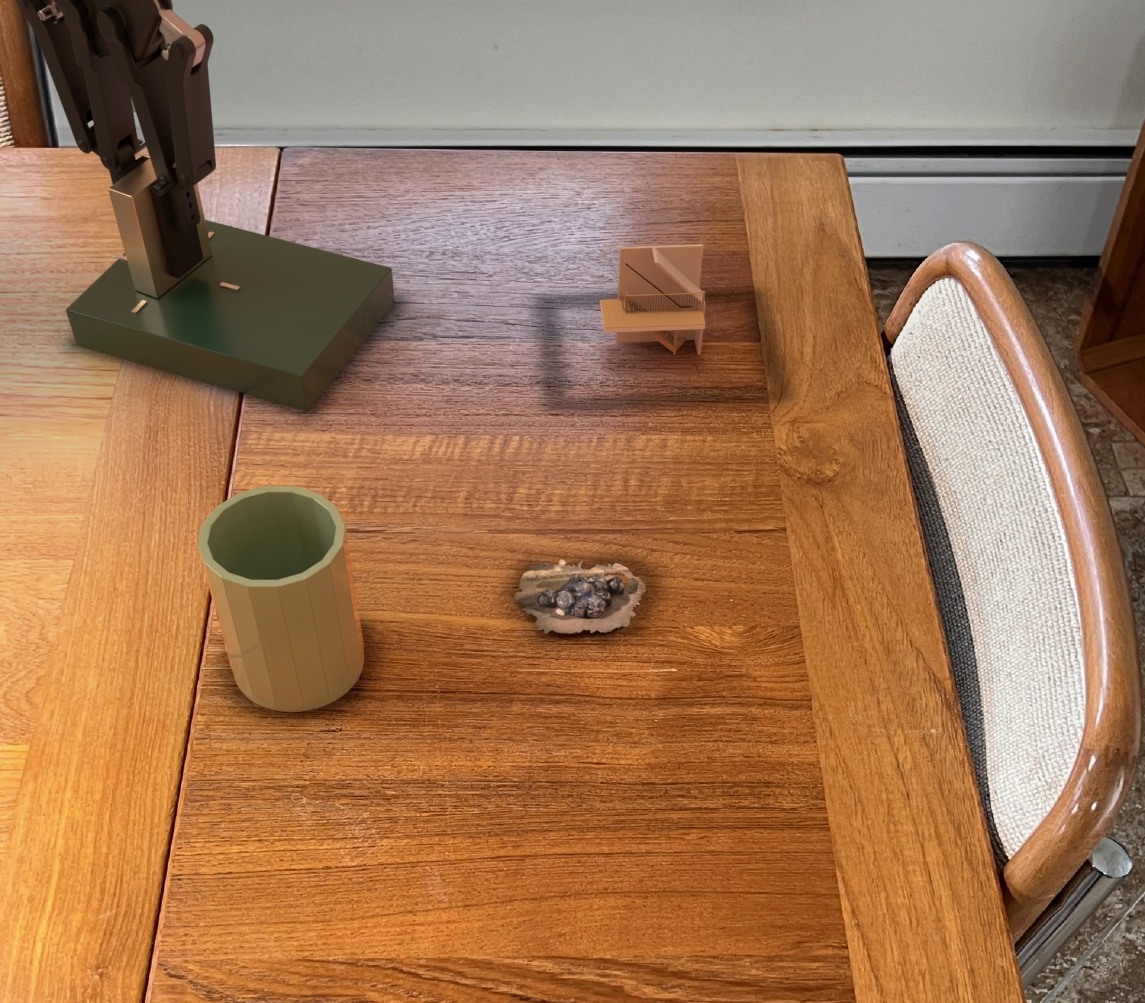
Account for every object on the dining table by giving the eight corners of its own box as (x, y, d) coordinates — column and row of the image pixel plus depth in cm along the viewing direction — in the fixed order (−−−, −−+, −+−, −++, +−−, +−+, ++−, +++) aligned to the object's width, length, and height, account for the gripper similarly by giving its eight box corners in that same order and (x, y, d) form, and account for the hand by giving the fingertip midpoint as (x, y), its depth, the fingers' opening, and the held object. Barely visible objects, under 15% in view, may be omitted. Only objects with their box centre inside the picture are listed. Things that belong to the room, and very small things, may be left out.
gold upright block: (157, 298, 96) (131, 193, 90) (134, 290, 97) (106, 184, 91) (212, 254, 99) (190, 149, 93) (190, 246, 100) (166, 141, 94)
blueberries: (496, 585, 85) (495, 562, 83) (612, 539, 87) (613, 517, 86) (551, 660, 81) (551, 637, 80) (670, 610, 84) (672, 588, 82)
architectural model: (703, 370, 97) (713, 274, 91) (602, 373, 97) (606, 278, 91) (696, 339, 99) (706, 244, 93) (598, 342, 99) (601, 247, 93)
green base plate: (69, 344, 98) (56, 305, 95) (170, 244, 105) (160, 205, 103) (308, 413, 94) (301, 374, 91) (395, 304, 101) (392, 265, 99)
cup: (208, 689, 80) (171, 561, 72) (274, 600, 84) (245, 470, 76) (326, 729, 78) (300, 603, 70) (386, 637, 82) (369, 508, 74)
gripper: (233, -111, 78) (293, 266, 97) (24, -168, 83) (120, 203, 101) (145, -59, 74) (226, 323, 93) (-70, -122, 79) (48, 256, 97)
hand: (170, 260), depth 97 cm, fingers closed on gold upright block, 2 cm apart
